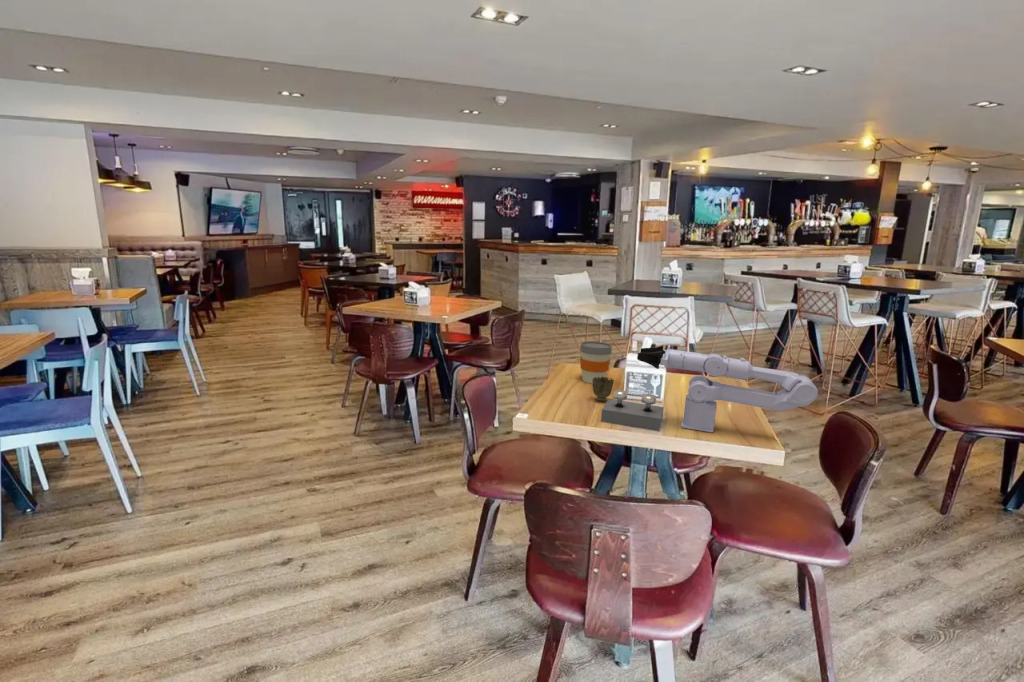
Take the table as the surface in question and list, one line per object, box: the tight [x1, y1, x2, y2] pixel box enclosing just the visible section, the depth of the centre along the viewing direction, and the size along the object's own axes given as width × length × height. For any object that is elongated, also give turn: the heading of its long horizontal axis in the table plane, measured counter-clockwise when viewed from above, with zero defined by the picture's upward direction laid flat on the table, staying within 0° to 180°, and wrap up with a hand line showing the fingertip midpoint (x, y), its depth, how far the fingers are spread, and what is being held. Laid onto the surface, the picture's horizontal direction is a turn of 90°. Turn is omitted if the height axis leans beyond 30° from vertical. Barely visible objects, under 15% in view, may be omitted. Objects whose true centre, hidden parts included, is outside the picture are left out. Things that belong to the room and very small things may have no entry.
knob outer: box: [612, 389, 629, 406], centre depth 168 cm, size 4×4×5 cm
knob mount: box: [600, 398, 665, 432], centre depth 167 cm, size 18×12×4 cm, turn 69°
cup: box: [592, 376, 614, 403], centre depth 185 cm, size 8×7×8 cm
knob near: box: [641, 393, 657, 411], centre depth 165 cm, size 4×4×5 cm
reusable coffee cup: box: [579, 341, 613, 385], centre depth 209 cm, size 13×13×15 cm
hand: (639, 353), depth 167 cm, fingers open, 7 cm apart
